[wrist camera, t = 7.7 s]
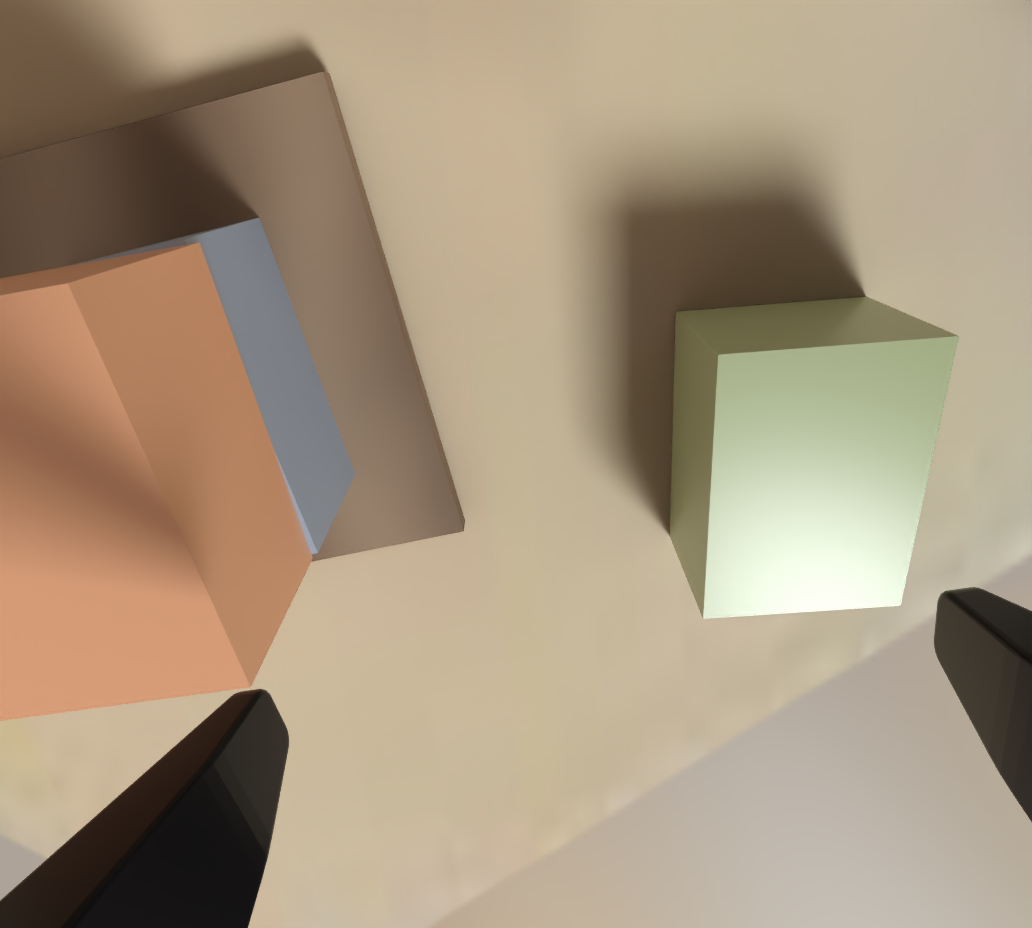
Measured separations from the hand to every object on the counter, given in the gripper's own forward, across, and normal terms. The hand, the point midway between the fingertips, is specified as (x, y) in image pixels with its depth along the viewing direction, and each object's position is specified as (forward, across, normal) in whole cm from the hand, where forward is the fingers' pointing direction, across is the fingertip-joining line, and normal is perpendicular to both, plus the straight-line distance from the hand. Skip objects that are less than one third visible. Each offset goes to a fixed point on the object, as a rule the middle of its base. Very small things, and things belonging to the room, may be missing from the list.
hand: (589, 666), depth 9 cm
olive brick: (+11, -6, +2) cm, 12 cm away
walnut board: (+10, +9, -2) cm, 14 cm away
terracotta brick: (+6, +8, -2) cm, 11 cm away
